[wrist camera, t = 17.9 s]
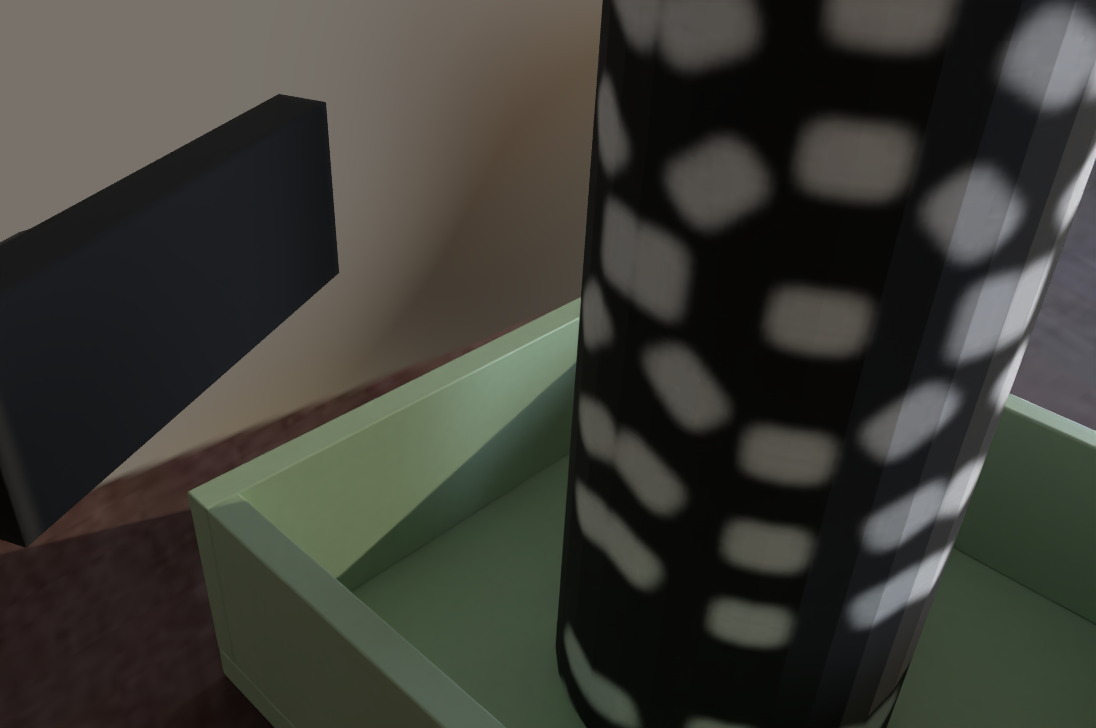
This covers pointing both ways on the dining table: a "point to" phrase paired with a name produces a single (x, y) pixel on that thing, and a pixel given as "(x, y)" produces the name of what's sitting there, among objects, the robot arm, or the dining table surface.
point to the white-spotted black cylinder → (800, 337)
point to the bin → (536, 555)
